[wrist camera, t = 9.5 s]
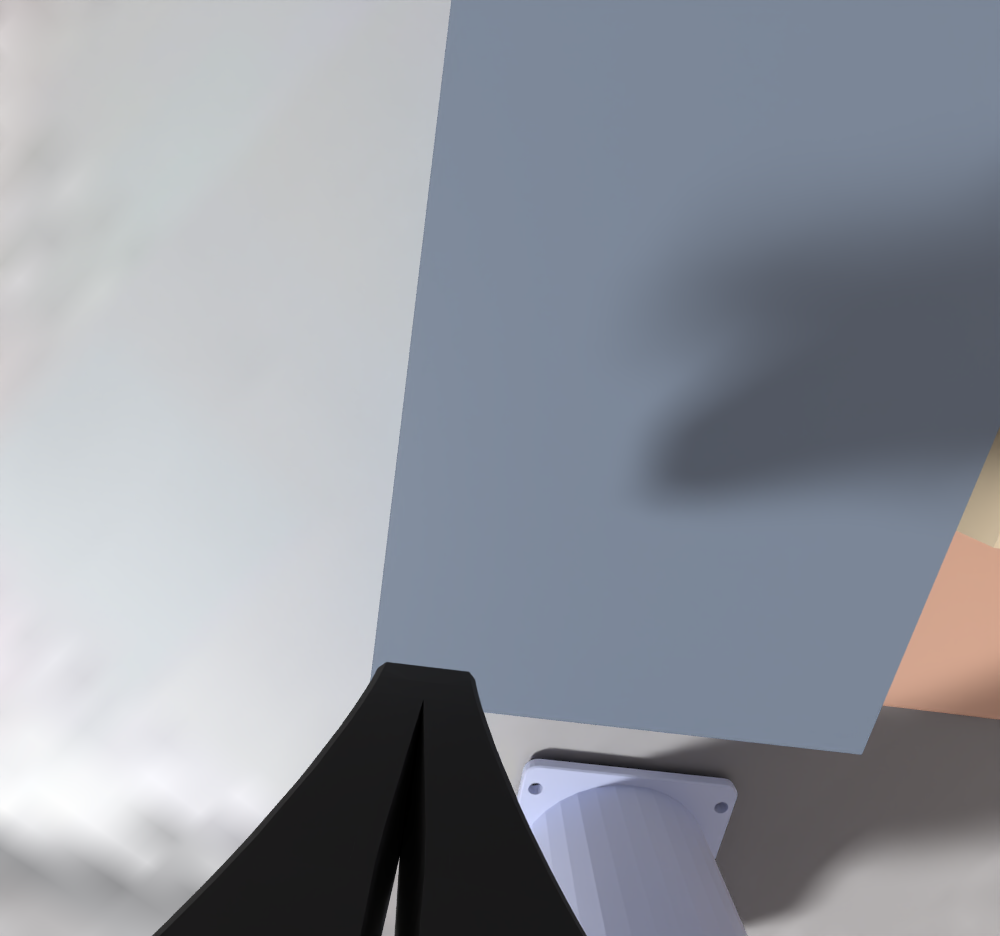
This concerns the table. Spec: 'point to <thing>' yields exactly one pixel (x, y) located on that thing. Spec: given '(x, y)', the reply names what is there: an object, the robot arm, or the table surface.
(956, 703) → the mat
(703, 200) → the textbook
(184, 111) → the table surface
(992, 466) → the eraser
